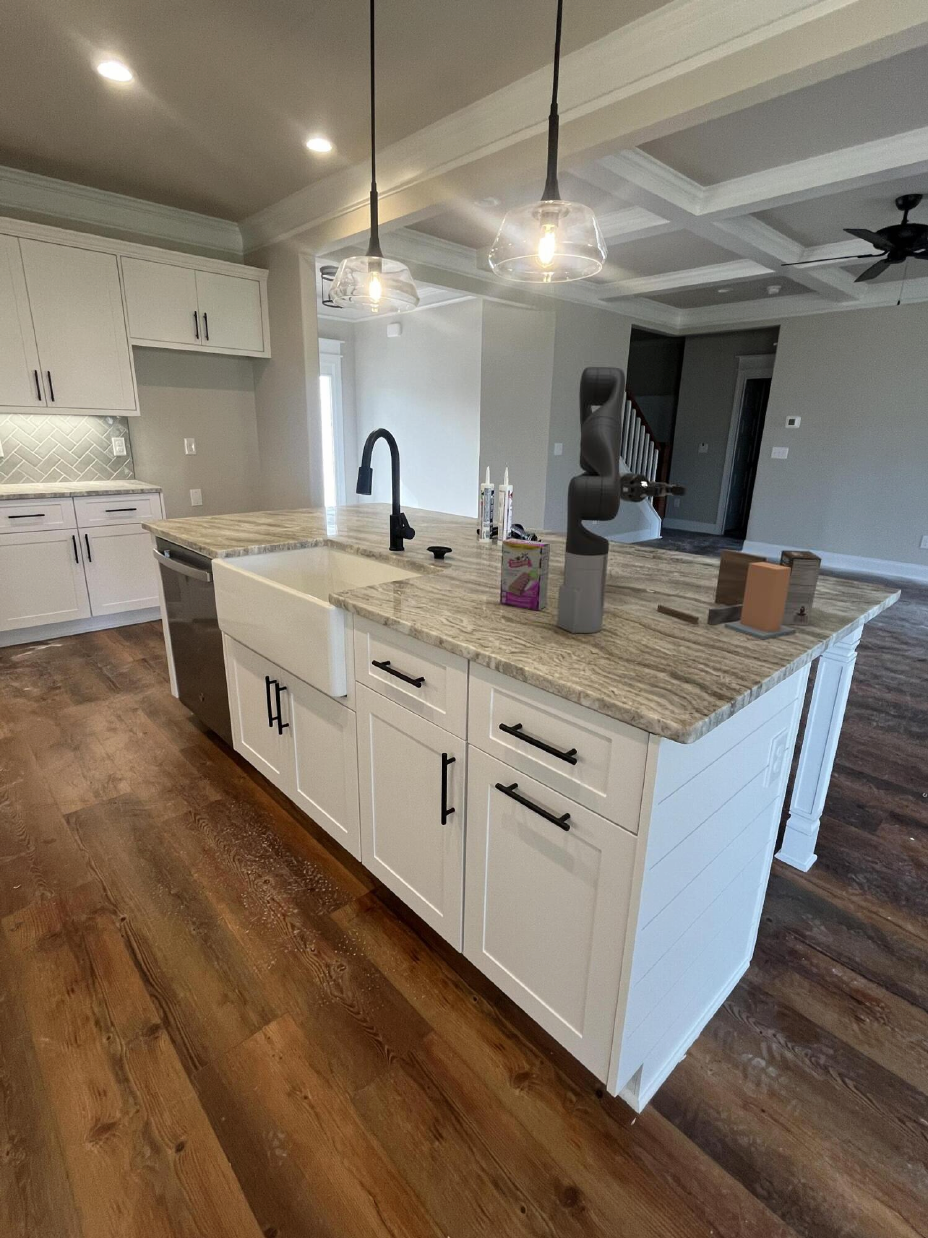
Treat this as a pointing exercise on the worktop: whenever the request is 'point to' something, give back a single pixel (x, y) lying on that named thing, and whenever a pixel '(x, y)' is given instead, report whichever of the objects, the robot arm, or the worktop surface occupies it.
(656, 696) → the worktop surface
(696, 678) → the worktop surface
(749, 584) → the orange block
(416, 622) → the worktop surface
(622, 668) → the worktop surface
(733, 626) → the mat
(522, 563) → the candy bar box
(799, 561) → the coffee box
